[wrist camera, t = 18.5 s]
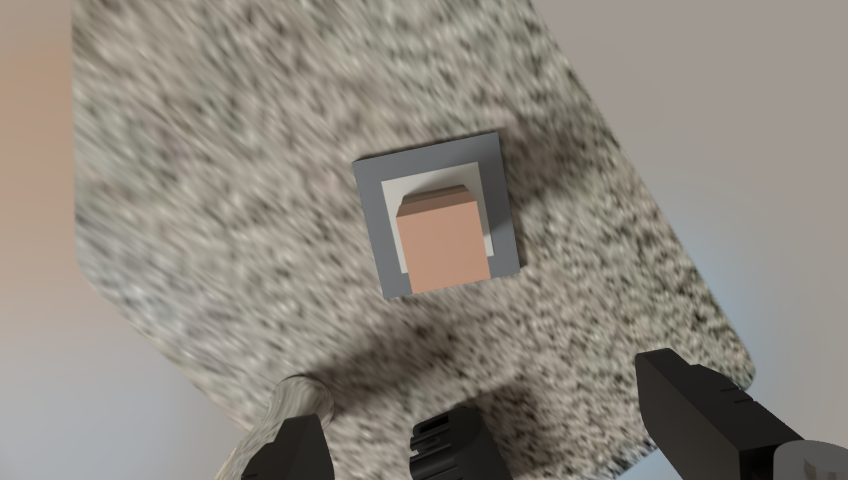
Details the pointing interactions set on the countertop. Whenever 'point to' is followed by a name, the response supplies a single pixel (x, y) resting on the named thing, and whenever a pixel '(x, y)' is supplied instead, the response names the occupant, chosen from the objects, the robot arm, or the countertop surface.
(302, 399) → the beer glass
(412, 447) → the end cap
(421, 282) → the terracotta block
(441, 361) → the countertop surface
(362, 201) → the plate
